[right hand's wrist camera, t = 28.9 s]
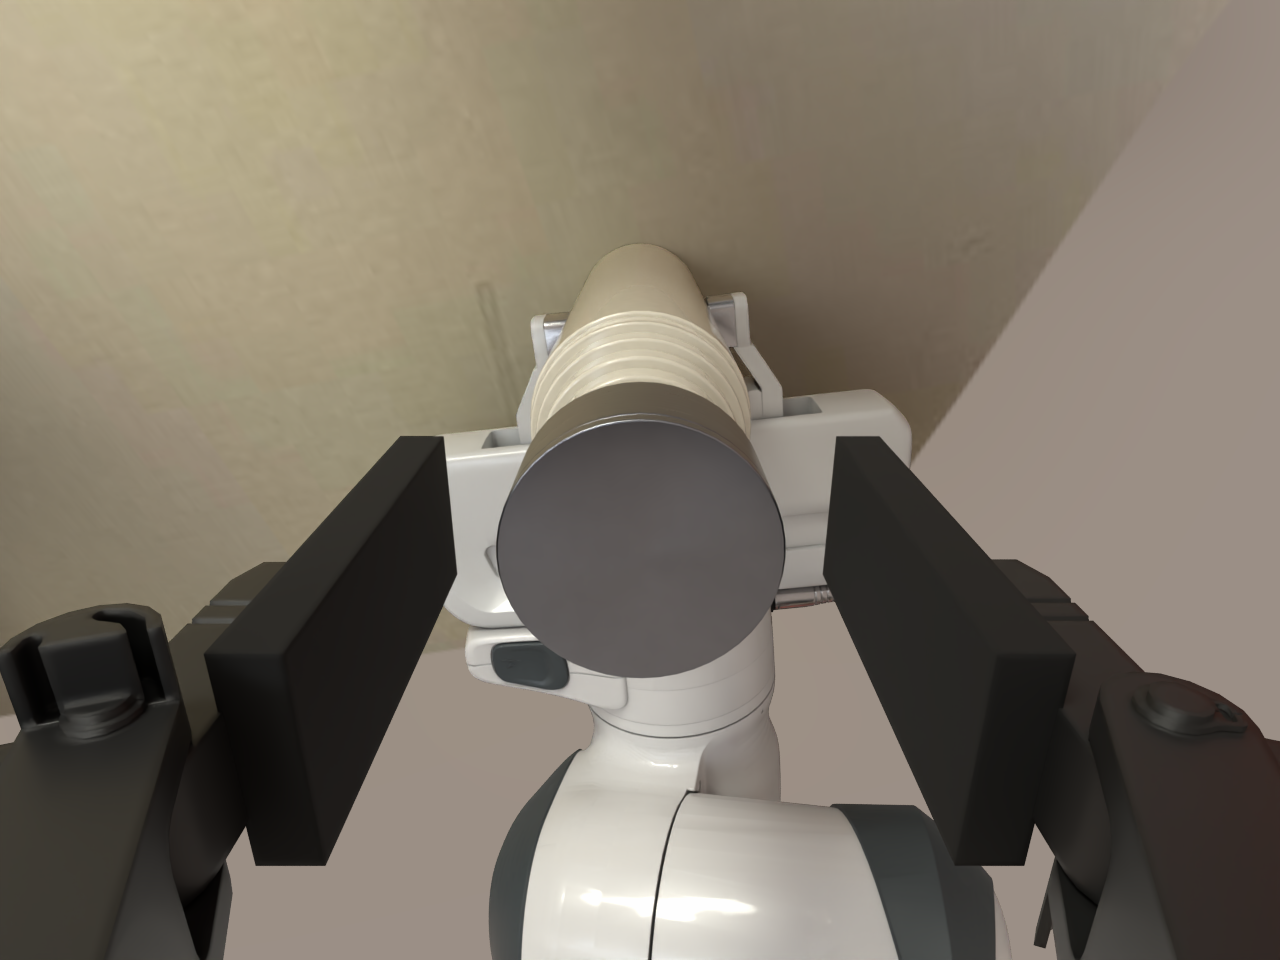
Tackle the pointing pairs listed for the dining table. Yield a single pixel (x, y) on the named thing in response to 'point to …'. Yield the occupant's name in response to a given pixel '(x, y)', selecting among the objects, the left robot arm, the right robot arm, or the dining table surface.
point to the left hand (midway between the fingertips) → (636, 305)
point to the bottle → (640, 337)
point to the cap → (640, 533)
